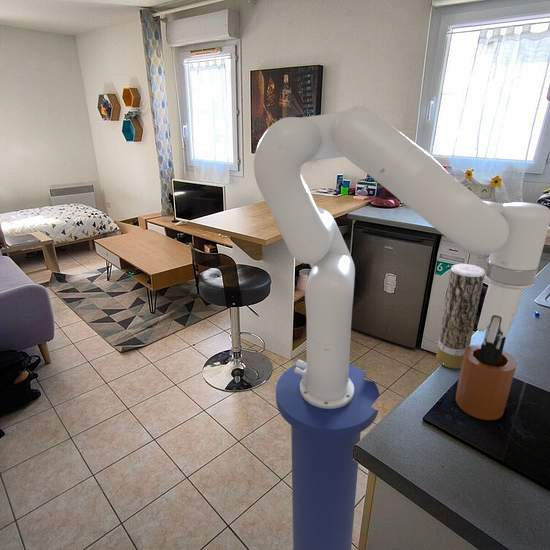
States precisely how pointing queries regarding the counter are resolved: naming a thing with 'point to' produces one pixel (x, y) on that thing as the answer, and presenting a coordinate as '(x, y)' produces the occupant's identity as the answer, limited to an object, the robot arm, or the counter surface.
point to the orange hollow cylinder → (484, 384)
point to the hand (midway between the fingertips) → (490, 356)
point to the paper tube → (459, 313)
